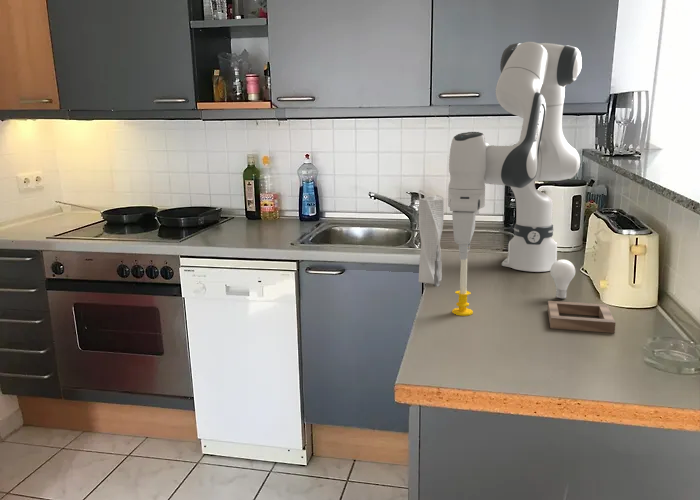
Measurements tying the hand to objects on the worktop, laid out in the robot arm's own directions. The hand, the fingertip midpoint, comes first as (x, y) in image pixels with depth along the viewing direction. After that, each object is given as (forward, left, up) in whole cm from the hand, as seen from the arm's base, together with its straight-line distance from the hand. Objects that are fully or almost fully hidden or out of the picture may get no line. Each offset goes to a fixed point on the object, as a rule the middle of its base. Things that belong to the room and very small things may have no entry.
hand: (464, 255), depth 150 cm
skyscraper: (-26, -12, -15) cm, 32 cm away
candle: (0, 0, -15) cm, 15 cm away
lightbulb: (-18, +25, -15) cm, 34 cm away
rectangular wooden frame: (0, +28, -15) cm, 32 cm away
